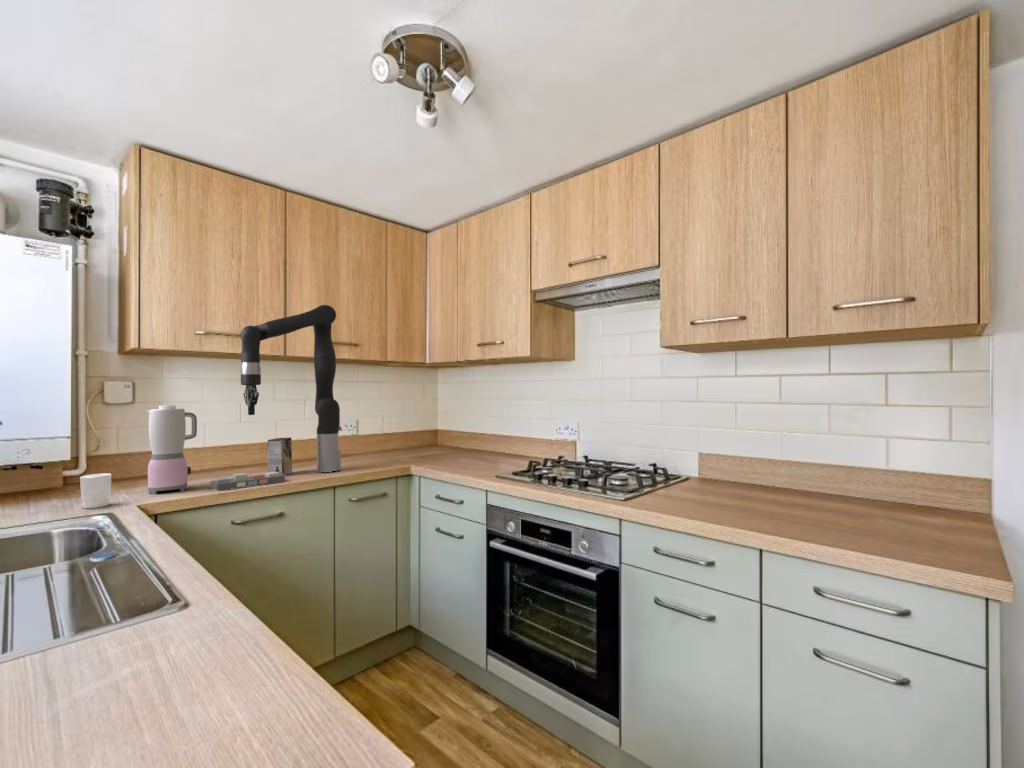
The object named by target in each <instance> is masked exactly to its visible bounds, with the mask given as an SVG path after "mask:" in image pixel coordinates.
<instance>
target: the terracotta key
mask: <svg viewBox="0 0 1024 768" xmlns="http://www.w3.org/2000/svg"><path fill="white" fill-rule="evenodd" d="M249 476H250V478H251V479H254V478H262V477H264V474H263V473H253V474H249Z"/></svg>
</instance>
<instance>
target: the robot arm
mask: <svg viewBox="0 0 1024 768" xmlns="http://www.w3.org/2000/svg"><path fill="white" fill-rule="evenodd" d="M336 318H337V313H336V310H335V309H334V308H333V307H332V306H331V305H328V304H322V305H319V306H317V307H315V308H312V309H311V310H308V311H305V312H303V313H299V314H296V315H290V316H286V317H281V318H277V319H273V320H269V321H266V322H264V323H262V324H258V325H247V326H245V327H243V328H242V329H241V331H240V335H239V336H240V339H241V354H240V359H241V360H240V385H241V386H245V389H244V392H243V393H242V394H243V399H244V402H245V405H246V406H247V415H248V416H254V415H256V414H255V413H256V412H255V411H256V407H255V406H256V405H257V404H258V400H259V397H260V392H258V389H257V386H260V385H261V384H262V368H261V353H260V350H261V349H260V348H261V341H265V340H268V339H272V338H276V337H281V336H284V335H288V334H290V333H294V332H296V331H299V330H301V329H304V328H308V327H312V326H313V333H314V335H313V336H314V341H313V342H314V344H313V348H314V349H313V350H314V351H313V352H314V353H313V359H314V360H313V363H314V379H315V400H314V401H315V402H314V411H315V414H316V415H317V417H318V423H317V427H316V458H317V459H316V465H317V466H316V468H317V469H316V470H317V473H318V472H330V473H333V472H332V471H337V472H339V471H338V470H341V471H342V467H341V466H342V462H341V461H342V459H341V457H342V456H341V455H342V454H341V453H342V452H341V449H339V448H340V446H339V444H340V443H339V429H340V421H341V418H340V417H341V415H340V413H341V412H340V404H339V402H338V401H337V400H336V399H334V390H333V389H334V381H335V377H336V370H337V362H336V361H337V359H336V357H337V356H336V350H335V347H334V344H333V340H332V324H333V323H334V322H335V321H336Z"/></svg>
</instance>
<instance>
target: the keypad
mask: <svg viewBox="0 0 1024 768" xmlns="http://www.w3.org/2000/svg"><path fill="white" fill-rule="evenodd" d="M263 475H264V477H262V478H254V479H251V478H250V475H249V476H248V475H247V479H246V480H238V481H234V480H233V477H232V478H229V479H230V482H223V483H216V482H215V480H210V482H209V483H210V485H209V486H210V487H211V488H210V487H209V488H210V489H212V488H213V489H212V490H214V489H215V490H214V491H216V490H217V491H216V492H219V491H218V490H222V491H226V490H225V489H229V490H232V489H231V488H236V489H240V488H239V487H244V488H248V487H247V486H251V487H256V486H255V485H258V486H262V485H261V484H265V485H269V484H268V483H273V484H277V483H276V482H280V483H284V482H283V481H285V482H286V480H285V479H286V475H285V476H284V475H281V474H279V475H278V476H270V477H268V476H266V473H265V474H263Z"/></svg>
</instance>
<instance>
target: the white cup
mask: <svg viewBox="0 0 1024 768" xmlns="http://www.w3.org/2000/svg"><path fill="white" fill-rule="evenodd" d="M112 475H113V474H112V473H108V472H107V473H93V474H85V475H82V476H79V483H80V496H81V504H82V506H81V507H82V508H83V509H95V508H102V507H105V506H109V505H110V503H111V502H110V500H111V493H112V491H111V490H112Z"/></svg>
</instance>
